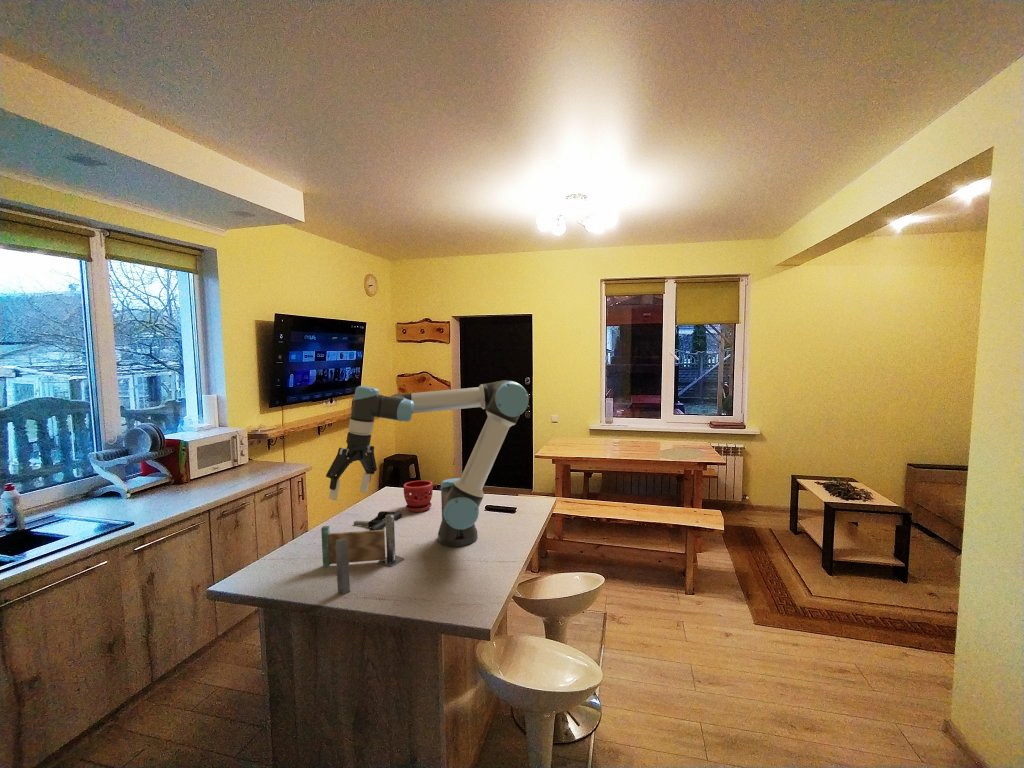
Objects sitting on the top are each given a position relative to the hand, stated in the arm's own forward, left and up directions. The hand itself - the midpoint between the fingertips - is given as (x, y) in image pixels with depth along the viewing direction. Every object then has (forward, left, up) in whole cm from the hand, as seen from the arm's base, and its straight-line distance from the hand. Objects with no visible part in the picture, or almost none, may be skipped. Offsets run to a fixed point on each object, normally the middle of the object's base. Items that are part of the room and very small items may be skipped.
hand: (348, 495), depth 144 cm
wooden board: (-1, 0, -24) cm, 24 cm away
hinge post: (-9, +9, -24) cm, 27 cm away
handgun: (-30, -23, -25) cm, 45 cm away
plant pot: (-52, -20, -24) cm, 61 cm away
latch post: (+12, +12, -24) cm, 29 cm away
